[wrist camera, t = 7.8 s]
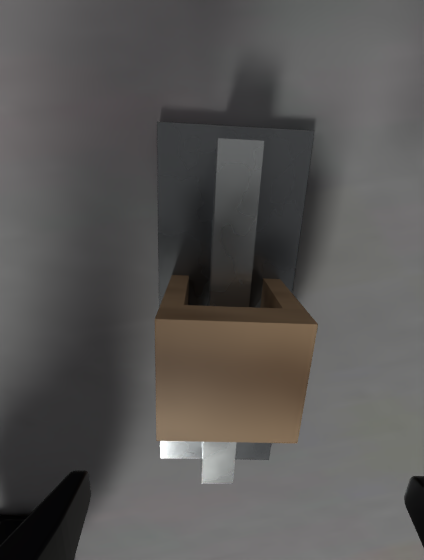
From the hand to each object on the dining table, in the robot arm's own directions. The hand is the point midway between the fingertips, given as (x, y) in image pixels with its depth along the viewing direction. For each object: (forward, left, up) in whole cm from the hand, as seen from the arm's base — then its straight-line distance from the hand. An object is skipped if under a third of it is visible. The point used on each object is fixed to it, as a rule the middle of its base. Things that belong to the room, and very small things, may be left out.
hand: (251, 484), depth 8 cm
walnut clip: (0, 0, -10) cm, 10 cm away
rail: (0, 0, -11) cm, 11 cm away
